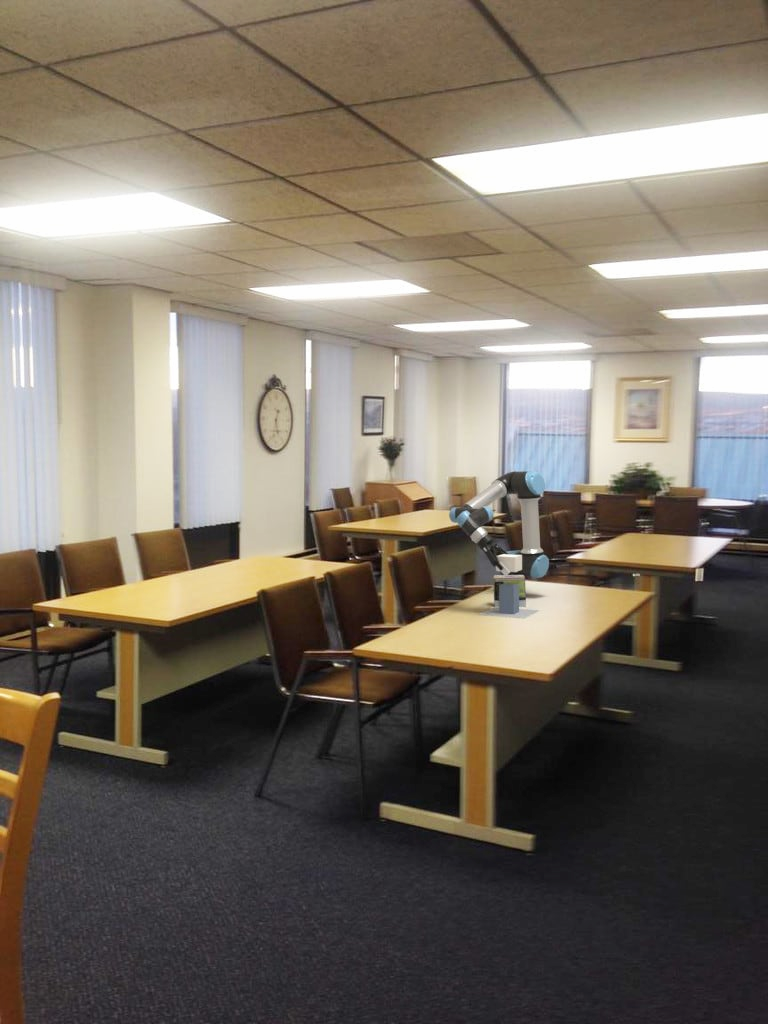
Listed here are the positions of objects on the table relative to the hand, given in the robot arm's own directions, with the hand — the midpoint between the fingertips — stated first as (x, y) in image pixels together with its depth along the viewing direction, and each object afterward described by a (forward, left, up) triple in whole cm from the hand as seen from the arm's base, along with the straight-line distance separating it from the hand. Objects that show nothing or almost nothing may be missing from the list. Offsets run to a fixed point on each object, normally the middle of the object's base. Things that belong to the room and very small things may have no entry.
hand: (513, 572), depth 393 cm
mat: (0, -2, -19) cm, 19 cm away
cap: (0, -2, +1) cm, 2 cm away
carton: (0, -2, -19) cm, 19 cm away
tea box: (-19, -9, -19) cm, 29 cm away
